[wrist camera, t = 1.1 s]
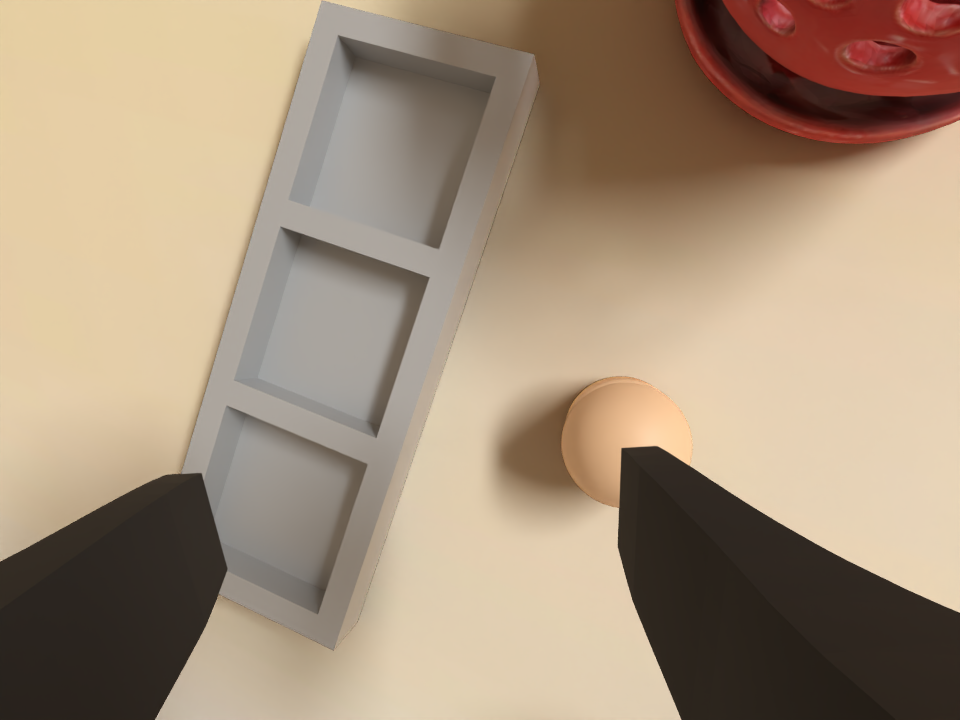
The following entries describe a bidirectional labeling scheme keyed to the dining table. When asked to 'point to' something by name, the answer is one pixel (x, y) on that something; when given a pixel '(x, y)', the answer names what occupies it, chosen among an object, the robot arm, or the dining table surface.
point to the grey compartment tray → (351, 305)
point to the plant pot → (832, 63)
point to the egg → (618, 432)
